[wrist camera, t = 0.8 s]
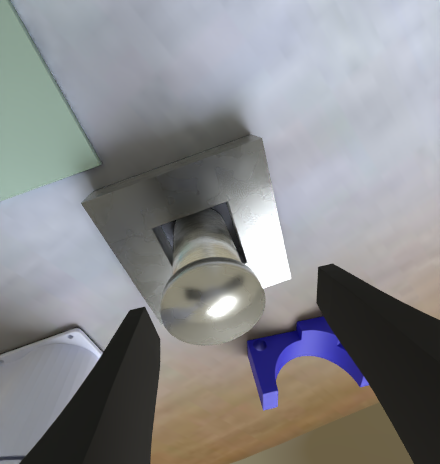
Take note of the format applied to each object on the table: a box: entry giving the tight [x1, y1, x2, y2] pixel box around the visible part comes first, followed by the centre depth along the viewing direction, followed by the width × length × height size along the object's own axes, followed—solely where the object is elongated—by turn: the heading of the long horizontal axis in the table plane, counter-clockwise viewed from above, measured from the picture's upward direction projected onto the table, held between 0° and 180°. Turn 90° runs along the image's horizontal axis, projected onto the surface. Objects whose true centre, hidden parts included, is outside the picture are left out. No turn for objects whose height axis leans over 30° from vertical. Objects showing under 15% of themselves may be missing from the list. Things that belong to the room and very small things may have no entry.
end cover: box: [160, 208, 265, 345], centre depth 16 cm, size 5×5×9 cm
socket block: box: [81, 135, 291, 325], centre depth 19 cm, size 12×12×2 cm
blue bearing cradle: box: [247, 316, 369, 410], centre depth 26 cm, size 12×4×6 cm, turn 96°
